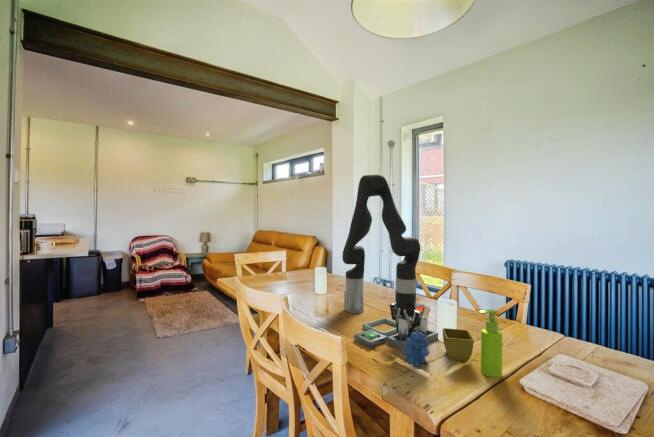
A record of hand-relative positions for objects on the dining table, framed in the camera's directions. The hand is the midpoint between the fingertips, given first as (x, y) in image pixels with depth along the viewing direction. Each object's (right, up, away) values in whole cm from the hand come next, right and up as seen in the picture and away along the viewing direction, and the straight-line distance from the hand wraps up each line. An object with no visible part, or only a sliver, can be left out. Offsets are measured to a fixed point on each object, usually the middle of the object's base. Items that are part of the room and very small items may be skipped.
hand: (405, 334), depth 116 cm
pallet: (+4, -5, +3) cm, 7 cm away
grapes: (0, -5, -16) cm, 17 cm away
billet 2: (+8, -3, +6) cm, 10 cm away
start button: (-13, -4, +3) cm, 14 cm away
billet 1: (0, -2, 0) cm, 2 cm away
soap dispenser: (+22, -5, -18) cm, 29 cm away
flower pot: (+16, -5, -10) cm, 19 cm away
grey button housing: (-13, -5, +3) cm, 14 cm away
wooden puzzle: (+13, -4, +41) cm, 43 cm away
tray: (-5, -4, +15) cm, 16 cm away
